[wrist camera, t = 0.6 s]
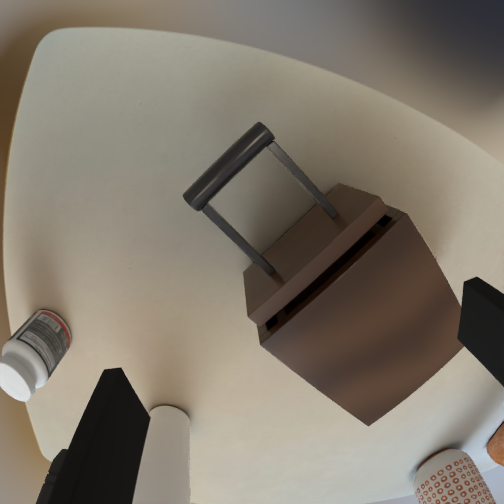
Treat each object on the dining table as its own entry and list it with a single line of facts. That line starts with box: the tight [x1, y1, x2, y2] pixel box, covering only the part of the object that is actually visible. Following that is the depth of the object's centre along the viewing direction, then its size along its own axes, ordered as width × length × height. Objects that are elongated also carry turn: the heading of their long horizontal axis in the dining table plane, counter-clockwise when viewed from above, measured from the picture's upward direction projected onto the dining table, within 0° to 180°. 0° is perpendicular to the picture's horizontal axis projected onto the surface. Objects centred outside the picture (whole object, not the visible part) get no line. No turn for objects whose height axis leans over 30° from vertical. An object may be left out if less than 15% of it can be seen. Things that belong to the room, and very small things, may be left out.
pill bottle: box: [0, 310, 71, 401], centre depth 25 cm, size 6×6×10 cm
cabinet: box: [257, 204, 464, 426], centre depth 25 cm, size 15×13×10 cm
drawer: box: [183, 122, 389, 327], centre depth 24 cm, size 22×11×8 cm, turn 44°
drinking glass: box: [132, 406, 191, 504], centre depth 27 cm, size 7×7×15 cm
